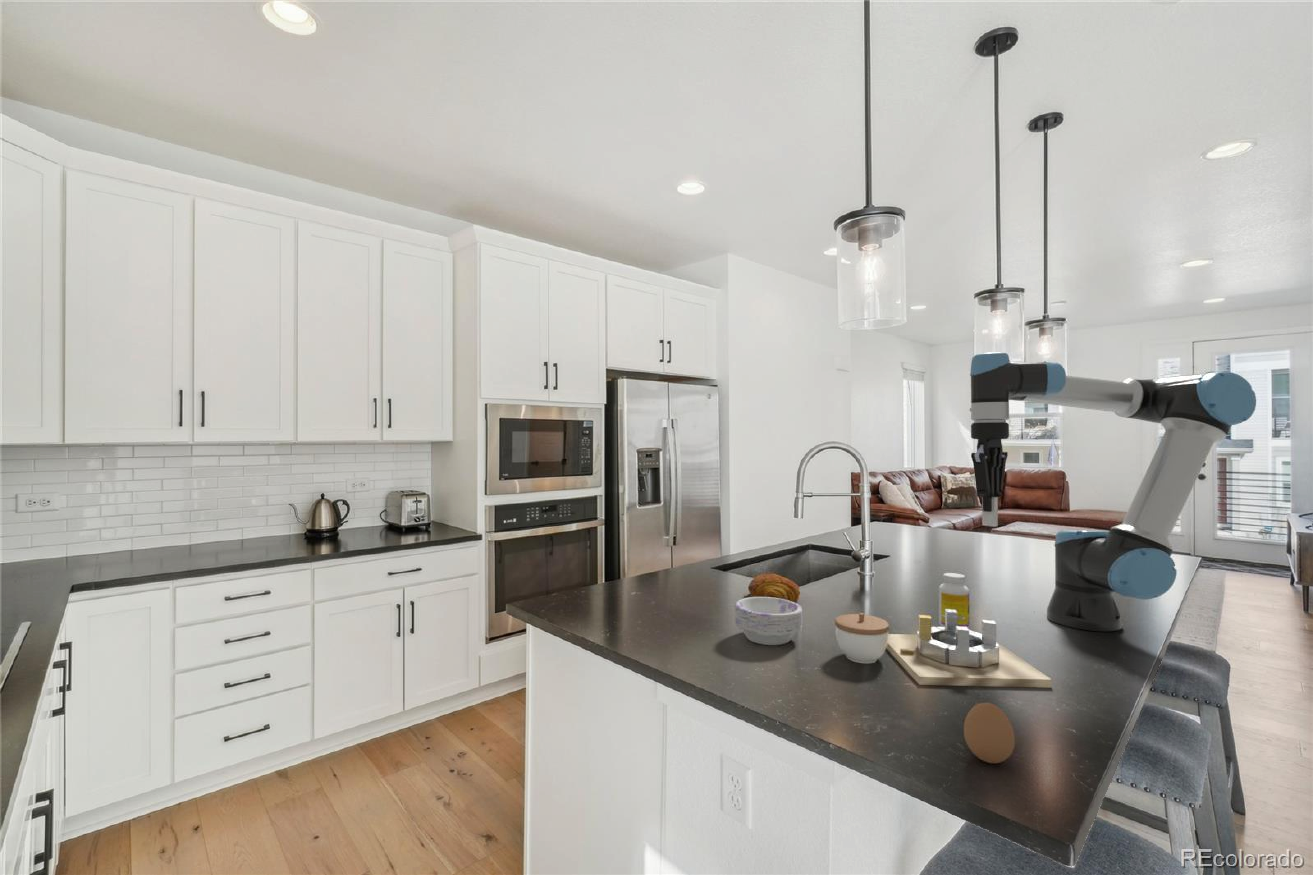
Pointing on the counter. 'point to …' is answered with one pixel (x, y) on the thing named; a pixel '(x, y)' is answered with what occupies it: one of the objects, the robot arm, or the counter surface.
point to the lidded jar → (862, 637)
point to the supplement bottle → (954, 599)
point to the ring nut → (958, 642)
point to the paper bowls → (768, 619)
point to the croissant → (774, 587)
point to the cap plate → (964, 668)
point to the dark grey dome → (952, 639)
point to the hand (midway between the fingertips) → (989, 525)
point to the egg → (989, 733)
